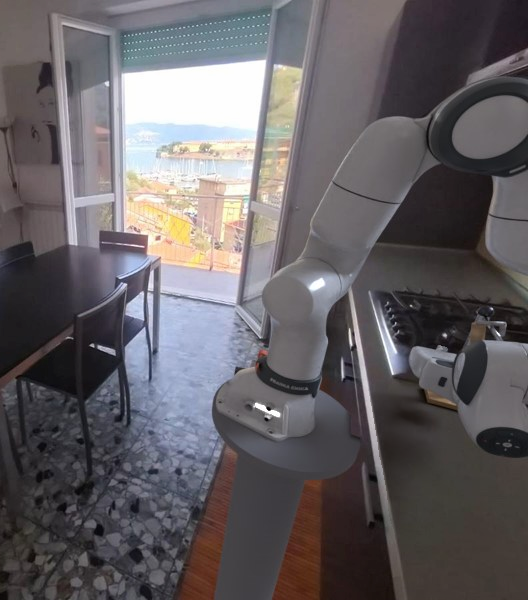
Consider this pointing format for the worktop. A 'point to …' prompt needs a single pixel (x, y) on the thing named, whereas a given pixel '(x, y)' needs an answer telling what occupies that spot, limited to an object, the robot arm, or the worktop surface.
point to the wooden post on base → (480, 329)
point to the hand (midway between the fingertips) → (463, 353)
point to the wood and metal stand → (483, 315)
